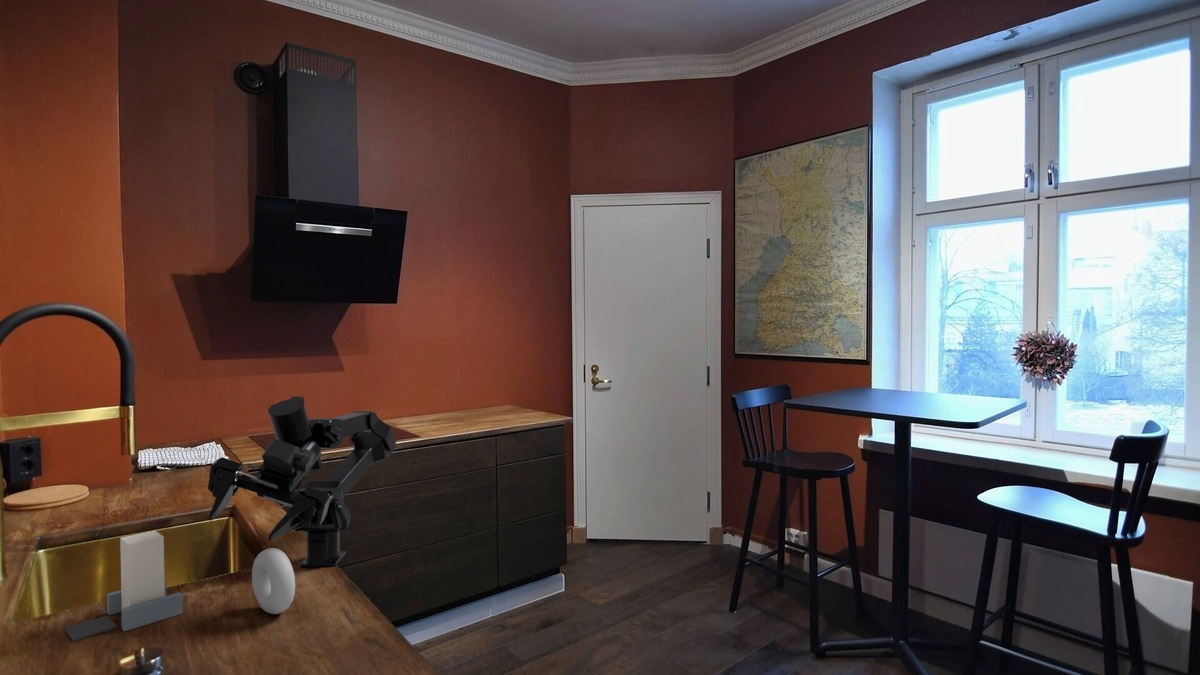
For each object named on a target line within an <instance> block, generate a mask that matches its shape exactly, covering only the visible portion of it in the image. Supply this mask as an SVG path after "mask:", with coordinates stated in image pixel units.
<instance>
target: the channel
mask: <svg viewBox="0 0 1200 675" xmlns="http://www.w3.org/2000/svg"><path fill="white" fill-rule="evenodd" d="M164 583H165V597H161V598H158V599H154V600H151V601H147V602H143V603H140V604H136V605H133V606H129V607H126V608H122V600H121V589H120V590H116V591H112V592H108V593H107V594H106V601H107V602H106V604H107V605H106V607H107V609H106V610H107V612H106V613H107V614H108V616H111V615H115V614H118V613H121V616H120V618H121V620H120V621H121V630H122V632H126V631H130V630H133V629H137V628H139V627H143V626H146V625H149V624H152V623H157V622H159V621H162V620H165V619H168V618H169V619H170V618H171V617H172V618H173V617H175V616H178V615H183V614H184V607H183V606H184V605H183V604H184V603H183V602H184V600H183V598H184V596H183V594H184V593H182V592H179V591H178V592H176V593H172V594H168V595H167V580H165V579H164Z"/></svg>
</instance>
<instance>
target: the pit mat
mask: <svg viewBox="0 0 1200 675" xmlns="http://www.w3.org/2000/svg"><path fill="white" fill-rule="evenodd" d="M64 628H65V629H64V630H65V632H66V633H67V635H68V636H69V637H70V639H71V640H72V641H73V642H76V641H80V640H83V639H86V638H90V637H93V636H97V635H99V634H103V633H106V632H109V631H113V630H116V629H118V625H116V624H115V622H114V621H113V620H112V619H111V617H109V615H104V616H101V617H98V618H94V619H91V620H87V621H83V622H80V623H76V624H73V625H70V626H66V627H64Z"/></svg>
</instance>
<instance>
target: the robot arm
mask: <svg viewBox="0 0 1200 675" xmlns="http://www.w3.org/2000/svg"><path fill="white" fill-rule="evenodd" d="M267 413H268V417H269V420H270V421H271V425H272V429H273V432H274V436H275V439H272V440H271V442H269V444H268V446H267V447H266V448H265V450H264V452H263V453H262V455H261V458H262V462H263V463H261V464H260V466H259V467H258V470H257V473H258V474H259V477H257V476H254V475H252V474H249V473H245V472H244V470H245V464H243V463H241V462H237V461H234V460H232V459H228V458H226V457H223V456H222V457H219V458H218V459H216V460H215V461H214V462H213V463H212V464H211V465H210V470H209V478H208V485H207V490H208V491H209V492H210V493H212V496H213V497H214V498H215V500H214V502H213V505H212V507H211V510H210V512H209V515H208V521H213V520H215V519H216V517H218V516H219V514H221V513H222V511H224V510H225V509H226V507H227V506H228V505H229V504H230V503H231V502H232V499H233V497H234V496H235V495H236V494H237V493H238V491H239V490H240V488H241V489H244V490H248V491H250V492H253V493H256V496H257V497H260V498H263V499H265V500H269V501H272V502H274V503H275V502H276V503H278V504H281V505H284V506H288V507H290V508H289V510H288V511H287V512H286V513H285V515H284V516H283V517H282V518H281V519H280V521H279V522H278V523H277V524H276V525H275V526H274V528H273V529H272V530H271V532H270V534H269V535H268V541H273V540H275V539H277V538H278V537H281V536H283V535H285V534H288V533H290V532H292V531H294V532H305V533H306V534H305V535H306V557H305V558H304V559H303V560H302V561H301V562H300V563H299V567H301V568H302V567H303V568H304V567H326V566H327V567H328V566H329V567H330V566H336V565H338V563H339V562H340V561H341V559H342V558H343V557H344V556H346V552H347V551H345V550H340V532H341V531H344V530H347V529H349V526H350V524H351V517H352V513H351V512H350V510H349V509H348V507H347V506H346V505H345V503H344V498H345V497H346V496H347V494H349V492H350V491H351V490H352V489H353V487H354V486H355V485H356V484H357V482H358V481H359V480H360V479H361V477H363V475H364V474H365V473H366V472H367V470H368V469H369V468H370V467H371V466H372V465H373V464H376V463H378V462H381V461H384V460H385V459H387V458H388V457H390V456H391V454H392V453H393V451H395V448H396V444H397V441H396V440H397V439H396V436H395V434H394V432H393V430H392V427H391V426H390V425H388V424H387V423H385V422H384V421H383V420H381V419H380V418H379V416H378V415H377V413H376V412H375V411H372V410H355V411H352V412H350V413H347V414H343V415H339V416H335V417H332V418H331V417H330V418H329V417H328V418H327V417H326V418H324V417H323V418H320V417H319V418H317V417H316V418H315V417H310V418H309V414H308V411H307V408H306V404H305V399H304V396H296V395H295V396H291V397H290V398H288V399H285V400H281V401H278V402H277V403H274V404H271V405H270V406H269V407H268V409H267ZM349 436H350V437H349ZM346 437H349V441H350V444H351V445H352V447H353V450H352V451H351V452H350V453H349V454H348V455H347V456H346V458H344V460H343V461H342V462H341V463H340V464H339V465H338V466H337V467H336V469H334V471H333V472H331V474H330V475H329V476H328V477H327V478H325V480H321V479H320V480H314V479H311V480H309V481H308V482H306V484H305V485H304V486H303V487H302V488H301V489H299V487H300V486H301V484H302V481H303V479H305V477H306V476H307V474H308V473H309V472H310V470H314V471H315V470H317V471H319V470H321V469H322V466H323V463H322V459H321V456H322V451H321V450H334V449H336V448H337V447H338V446H340V445H341V444H343V443H344V442H343V441H344V438H346ZM295 490H297V492H294V491H295ZM330 560H331V561H330Z"/></svg>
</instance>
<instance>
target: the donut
mask: <svg viewBox="0 0 1200 675" xmlns="http://www.w3.org/2000/svg"><path fill="white" fill-rule="evenodd" d="M251 581H252V582H251V584H252V590H253V594H254V596H255V599H256V601H257V602H258V605H259V606H260V608H261V609H263V611H264V612H266V613H269V614H271V615H279V614H281V613H283V612H284V611H287V610H288V608H290V606H291V604H292V602H293V600H294V598H295V595H296V594H295V593H296V578H295V572H294V568H293V565H292V563H291V561H290V559H289V558H288V556H287V554H286V553H285V552H284V551H282V550H281V549H279V548H275V547H268V548H266V549H264V550H262V551H261V552H259V553H258V554H257V556H256V557H255V559H254V561H253V565H252V570H251Z"/></svg>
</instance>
